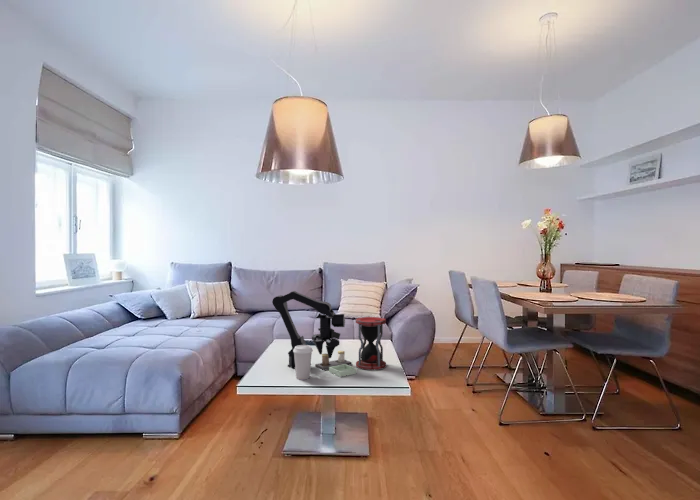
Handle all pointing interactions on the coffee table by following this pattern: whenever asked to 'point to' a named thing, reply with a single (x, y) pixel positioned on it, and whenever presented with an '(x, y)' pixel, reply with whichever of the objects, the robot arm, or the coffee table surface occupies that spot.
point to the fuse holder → (331, 364)
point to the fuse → (341, 356)
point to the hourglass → (370, 343)
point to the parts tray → (342, 370)
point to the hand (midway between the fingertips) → (325, 356)
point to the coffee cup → (302, 361)
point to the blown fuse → (325, 360)
